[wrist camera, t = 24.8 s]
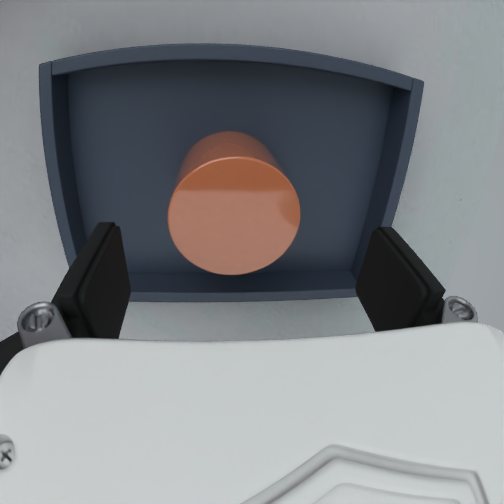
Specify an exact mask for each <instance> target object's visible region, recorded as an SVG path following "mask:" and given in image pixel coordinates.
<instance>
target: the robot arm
mask: <svg viewBox="0 0 504 504" xmlns="http://www.w3.org/2000/svg"><path fill="white" fill-rule="evenodd" d="M355 291H356V294H357V296H358V298H359V300H360V302H361V304H362V306H363V308H364V310H365V311H366V313H367V315H368V317H369V319H370V321H371V323H372V325H373V327H374V329H375V331H376V332H370V333H361V334H351V335H340V336H328V337H315V338H299V339H281V340H254V341H160V340H134V339H118V338H119V334H120V331H121V327H122V323H123V320H124V316H125V312H126V309H127V305H128V302H129V298H130V295H131V285H130V280H129V275H128V270H127V264H126V259H125V253H124V247H123V241H122V234H121V229H120V226H116V225H115V223H114V222H99V223H98V224H97V225H96V227H95V229H94V230H93V232H92V233H91V235H90V236H89V238H88V240H87V241H86V243H85V244H84V246H83V248H82V249H81V251H80V253H79V254H78V256H77V258H76V259H75V260H74V262H73V263H72V265H71V267H70V268H69V270H68V272H67V274H66V275H65V277H64V279H63V281H62V283H61V284H60V286H59V288H58V290H57V292H56V294H55V296H54V297H53V299H52V301H51V303H50V302H45V301H44V302H37V303H34V304H32V305H30V306H28V307H27V308H26V309H25V310H24V311H22V313H21V314H20V316H19V318H18V321H17V328H18V331H19V332H17V333H15V334H13V335H12V336H10V337H8V338H6V339H5V340H3V341H1V342H0V504H504V334H503V332H501V331H500V330H499V329H496V328H494V327H492V326H489V325H485V324H481V323H478V321H477V319H478V318H477V312H476V310H475V308H474V307H473V306H472V305H471V304H470V303H469V302H467V301H466V300H464V299H463V298H460V297H457V296H449V297H447V298H446V299H445V301H444V299H443V298H442V297H443V294H444V293H445V291H446V290H445V289H444V287H443V286H442V285H441V284H440V282H439V281H438V280H437V279H436V277H435V276H434V275H433V274H432V272H431V271H430V270H429V269H428V268H427V266H426V265H425V264H424V263H423V262H422V260H421V259H420V258H419V257H418V256H417V255H416V253H415V252H414V251H413V250H412V249H411V248H410V247H409V245H408V244H407V243H406V242H405V241H404V240H403V239H402V237H401V236H400V235H399V234H398V233H397V232H396V231H395V230H394V229H393V228H392V227H380V226H379V227H377V228H376V230H373V232H372V234H371V237H370V241H369V244H368V247H367V251H366V254H365V257H364V261H363V264H362V267H361V270H360V273H359V276H358V279H357V282H356V286H355Z"/></svg>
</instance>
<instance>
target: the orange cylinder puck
mask: <svg viewBox="0 0 504 504" xmlns="http://www.w3.org/2000/svg"><path fill="white" fill-rule="evenodd" d="M300 216H301V212H300V203H299V198H298V196H297V193H296V191H295V189H294V187H293V185H292V183H291V182H290V180H289V179H288V177H287V176H286V174H285V172H284V171H283V169H282V168H281V166H280V165H279V163H278V162H277V160H276V159H275V157H274V156H273V154H272V152H271V151H270V150H269V149H268V147H267V146H266V145H265V144H264V143H262V142H261V141H260V140H258V139H257V138H255V137H253V136H251V135H248V134H245V133H241V132H235V131H224V132H218V133H214V134H211V135H209V136H207V137H204V138H203V139H201V140H200V141H198V142H197V143H196V144H194V145H193V146H192V147H191V148H190V149H189V151H188V152H187V153H186V155H185V156H184V158H183V160H182V163H181V165H180V168H179V172H178V175H177V178H176V182H175V185H174V188H173V192H172V195H171V199H170V202H169V206H168V212H167V222H168V229H169V233H170V236H171V238H172V240H173V243H174V244H175V246H176V247H177V249H178V250H179V251H180V253H181V254H182V255H183V256H184V257H185V258H186V259H187V260H188V261H190V262H191V263H193V264H194V265H196V266H198V267H199V268H201V269H204V270H206V271H209V272H213V273H216V274H223V275H241V274H247V273H251V272H254V271H257V270H260V269H262V268H264V267H266V266H268V265H270V264H271V263H273V262H274V261H276V260H277V259H278V258H279V257H281V256H282V255H283V254H284V253H285V251H286V250H287V249H288V248H289V246H290V245H291V244H292V242H293V240H294V238H295V236H296V234H297V231H298V228H299V224H300Z"/></svg>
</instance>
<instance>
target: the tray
mask: <svg viewBox="0 0 504 504" xmlns="http://www.w3.org/2000/svg"><path fill="white" fill-rule="evenodd" d="M423 87H424V82H423V81H421V80H419V79H416V78H412V77H410V76H406V75H403V74H400V73H397V72H394V71H390V70H387V69H383V68H380V67H376V66H372V65H368V64H364V63H360V62H356V61H352V60H347V59H343V58H338V57H333V56H328V55H322V54H317V53H311V52H304V51H298V50H291V49H283V48H274V47H264V46H252V45H237V44H165V45H150V46H138V47H129V48H120V49H113V50H106V51H99V52H93V53H87V54H82V55H77V56H72V57H67V58H63V59H58V60H54V61H50V62H46V63H42V64H40V65H39V95H40V113H41V125H42V136H43V145H44V153H45V160H46V167H47V173H48V179H49V185H50V190H51V196H52V201H53V206H54V210H55V215H56V219H57V224H58V228H59V232H60V236H61V240H62V244H63V247H64V251H65V255H66V258H67V262H68V265H69V268H70V267H71V265H72V263H73V262H74V260H75V259H76V258H77V256H78V254H79V253H80V251H81V249H82V248H83V246H84V244H85V243H86V241H87V240H88V238H89V236H90V235H91V233H92V232H93V230H94V229H95V227H96V225H97V224H98V223H99V222H114V223H115V225H116V226H120V229H121V234H122V241H123V247H124V253H125V259H126V264H127V270H128V275H129V280H130V285H131V295H130V298H129V302H250V301H284V300H308V299H329V298H346V297H357V294H356V291H355V286H356V282H357V279H358V276H359V273H360V270H361V267H362V264H363V261H364V257H365V254H366V251H367V247H368V244H369V241H370V237H371V234H372V232H373V230H376V228H377V227H379V226H380V227H391V226H392V222H393V219H394V216H395V212H396V209H397V205H398V202H399V198H400V195H401V191H402V187H403V183H404V180H405V176H406V172H407V168H408V163H409V159H410V155H411V151H412V146H413V142H414V137H415V132H416V127H417V122H418V117H419V111H420V105H421V100H422V93H423ZM224 131H235V132H241V133H245V134H248V135H251V136H253V137H255V138H257V139H258V140H260V141H261V142H262V143H264V144H265V145H266V146H267V147H268V149H269V150H270V151H271V152H272V154H273V156H274V157H275V159H276V160H277V162H278V163H279V165H280V166H281V168H282V169H283V171H284V172H285V174H286V176H287V177H288V179H289V180H290V182H291V183H292V185H293V187H294V189H295V191H296V193H297V196H298V198H299V203H300V212H301V216H300V224H299V228H298V231H297V234H296V236H295V238H294V240H293V242H292V244H291V245H290V246H289V248H288V249H287V250H286V251H285V253H284V254H283V255H282V256H281V257H279V258H278V259H277V260H276V261H274V262H273V263H271V264H270V265H268V266H266V267H264V268H262V269H260V270H257V271H254V272H251V273H247V274H241V275H223V274H216V273H213V272H209V271H206V270H204V269H201V268H199V267H198V266H196V265H194V264H193V263H191V262H190V261H188V260H187V259H186V258H185V257H184V256H183V255H182V254H181V253H180V251H179V250H178V249H177V247H176V246H175V244H174V243H173V240H172V238H171V236H170V233H169V229H168V222H167V212H168V206H169V202H170V199H171V195H172V192H173V188H174V185H175V182H176V178H177V175H178V172H179V168H180V165H181V163H182V160H183V158H184V156H185V155H186V153H187V152H188V151H189V149H190V148H191V147H192V146H193V145H194V144H196V143H197V142H198V141H200V140H201V139H203V138H204V137H207V136H209V135H211V134H214V133H218V132H224Z"/></svg>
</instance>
